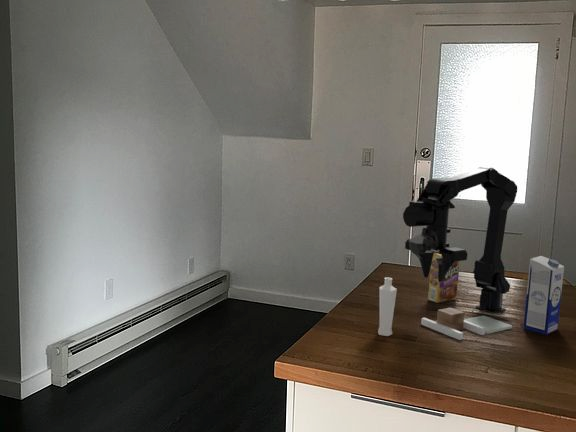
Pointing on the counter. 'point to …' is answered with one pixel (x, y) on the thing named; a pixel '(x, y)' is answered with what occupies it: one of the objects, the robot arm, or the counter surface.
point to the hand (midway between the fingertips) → (433, 279)
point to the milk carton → (543, 295)
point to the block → (451, 318)
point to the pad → (489, 324)
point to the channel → (453, 332)
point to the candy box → (443, 282)
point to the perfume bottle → (386, 307)
